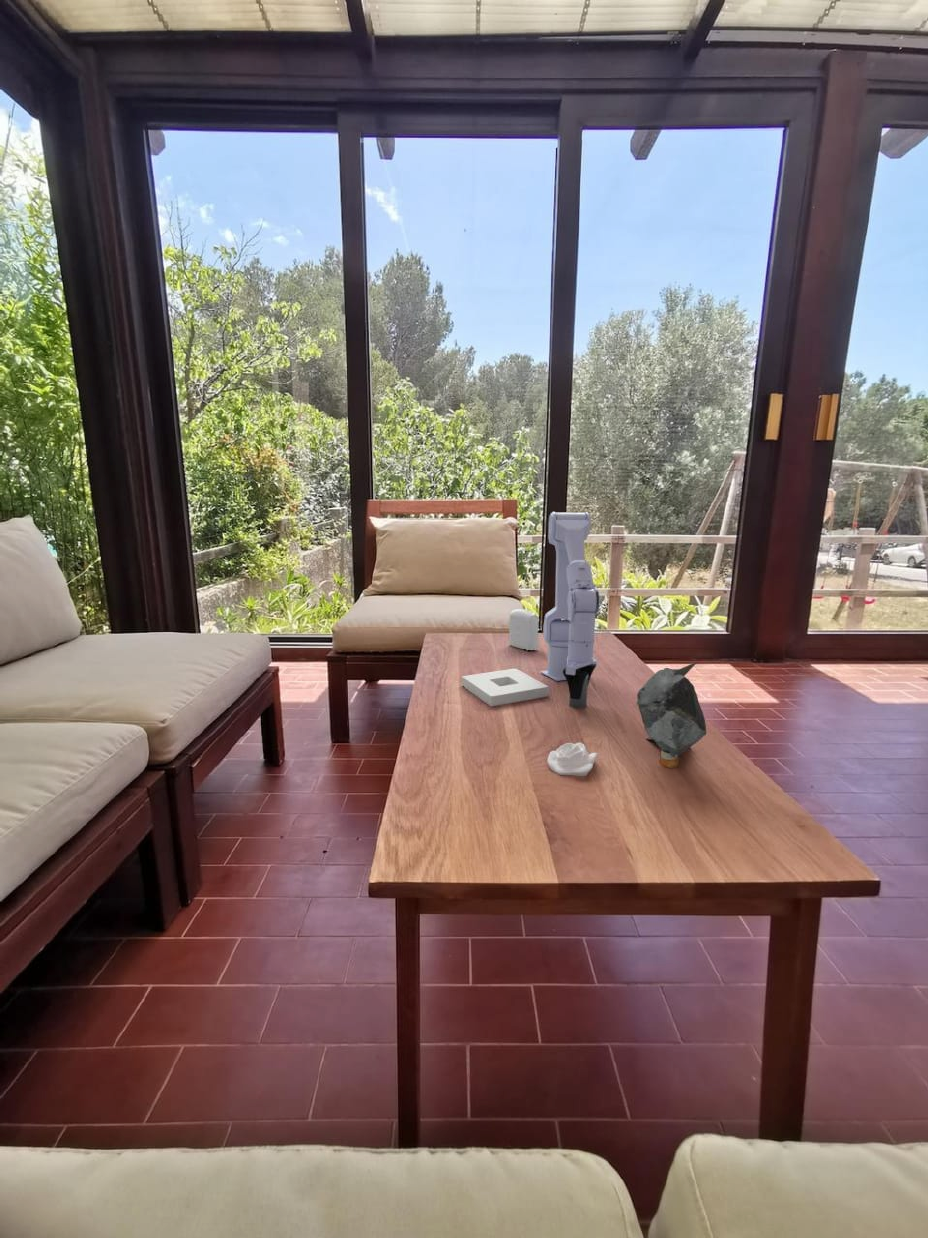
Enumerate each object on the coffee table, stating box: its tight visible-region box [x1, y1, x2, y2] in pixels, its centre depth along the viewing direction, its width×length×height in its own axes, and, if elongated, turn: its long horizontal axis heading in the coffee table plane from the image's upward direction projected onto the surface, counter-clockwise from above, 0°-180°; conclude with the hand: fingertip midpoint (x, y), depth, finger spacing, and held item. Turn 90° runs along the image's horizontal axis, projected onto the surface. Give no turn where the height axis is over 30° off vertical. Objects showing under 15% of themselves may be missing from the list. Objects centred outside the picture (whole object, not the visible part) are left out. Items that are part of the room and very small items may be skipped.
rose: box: [546, 742, 599, 777], centre depth 110 cm, size 10×4×10 cm
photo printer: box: [508, 608, 539, 651], centre depth 187 cm, size 10×4×12 cm, turn 39°
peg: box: [568, 671, 589, 709], centre depth 139 cm, size 4×4×8 cm
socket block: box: [461, 668, 550, 707], centre depth 149 cm, size 16×16×2 cm
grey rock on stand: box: [636, 660, 707, 769], centre depth 112 cm, size 14×15×18 cm
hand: (578, 695), depth 140 cm, fingers closed on peg, 4 cm apart
